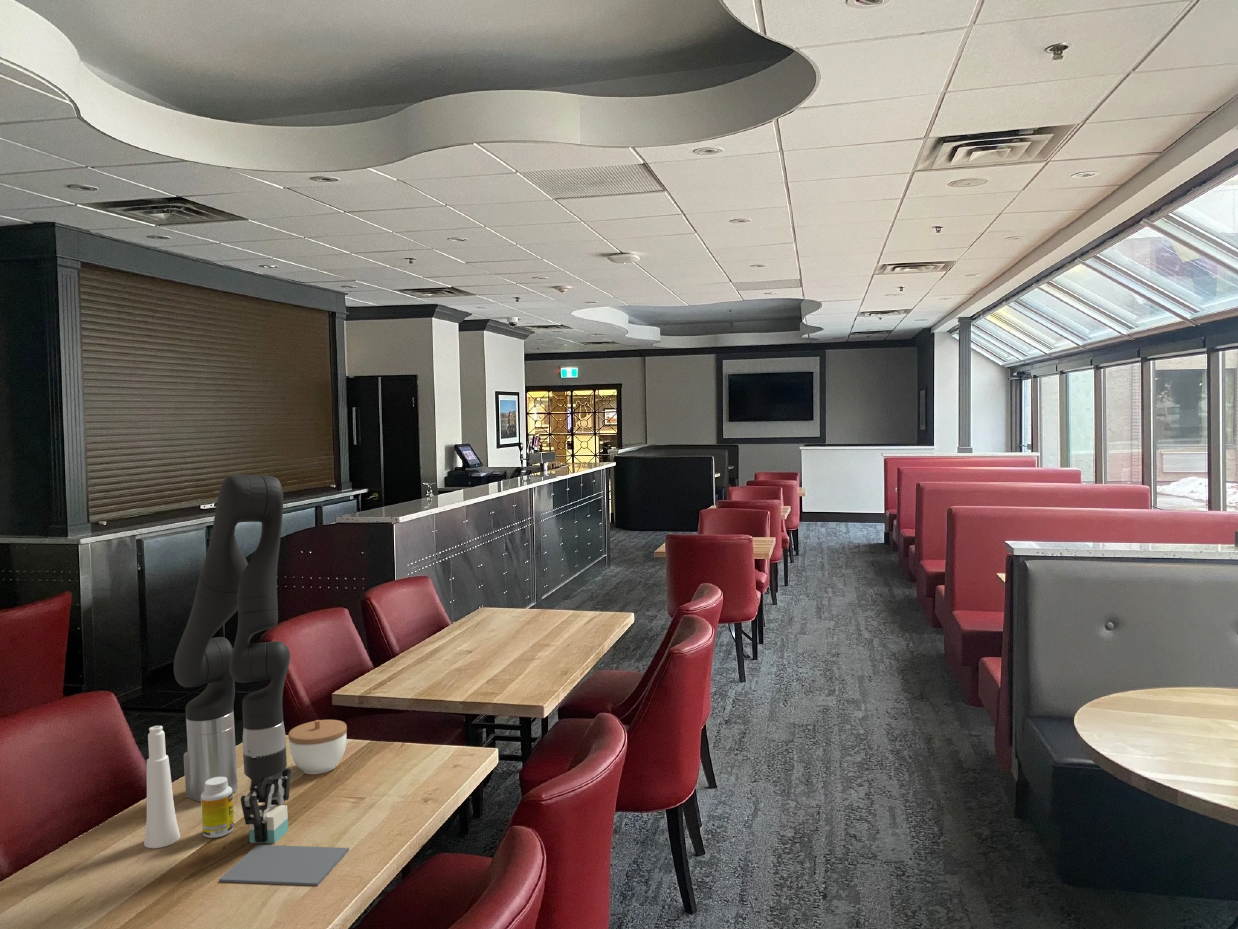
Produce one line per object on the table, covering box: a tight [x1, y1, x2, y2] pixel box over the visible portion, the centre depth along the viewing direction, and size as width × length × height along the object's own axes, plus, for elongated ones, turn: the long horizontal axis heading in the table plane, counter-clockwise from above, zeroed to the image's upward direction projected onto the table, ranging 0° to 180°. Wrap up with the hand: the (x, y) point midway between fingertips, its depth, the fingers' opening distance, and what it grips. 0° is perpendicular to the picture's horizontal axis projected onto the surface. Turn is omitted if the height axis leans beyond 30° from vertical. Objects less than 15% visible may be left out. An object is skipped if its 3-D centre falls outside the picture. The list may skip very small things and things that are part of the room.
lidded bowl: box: [288, 719, 348, 775], centre depth 193 cm, size 13×13×11 cm
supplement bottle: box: [200, 777, 235, 839], centre depth 163 cm, size 6×6×10 cm
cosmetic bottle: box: [143, 725, 181, 849], centre depth 160 cm, size 6×6×22 cm
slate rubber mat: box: [218, 844, 350, 887], centre depth 150 cm, size 18×12×1 cm, turn 83°
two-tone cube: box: [248, 804, 289, 844], centre depth 161 cm, size 5×5×5 cm
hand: (269, 834), depth 161 cm, fingers closed on two-tone cube, 5 cm apart
